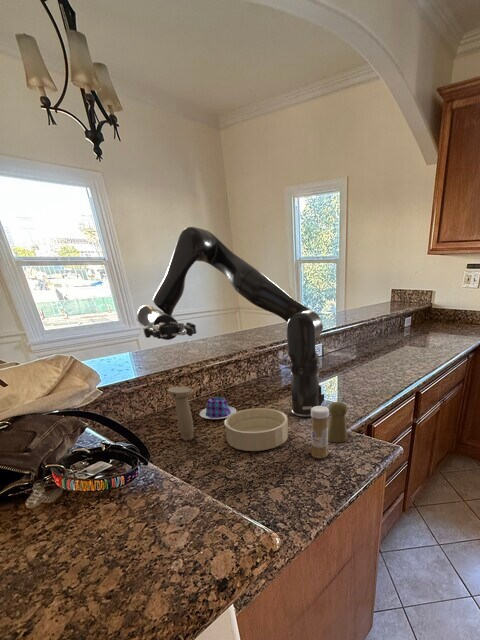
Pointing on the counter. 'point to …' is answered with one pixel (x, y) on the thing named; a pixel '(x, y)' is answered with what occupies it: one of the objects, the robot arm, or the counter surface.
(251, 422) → the bowl
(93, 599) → the counter surface
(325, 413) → the sprinkles bottle
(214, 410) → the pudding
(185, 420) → the handle
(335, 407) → the green pepper mill
